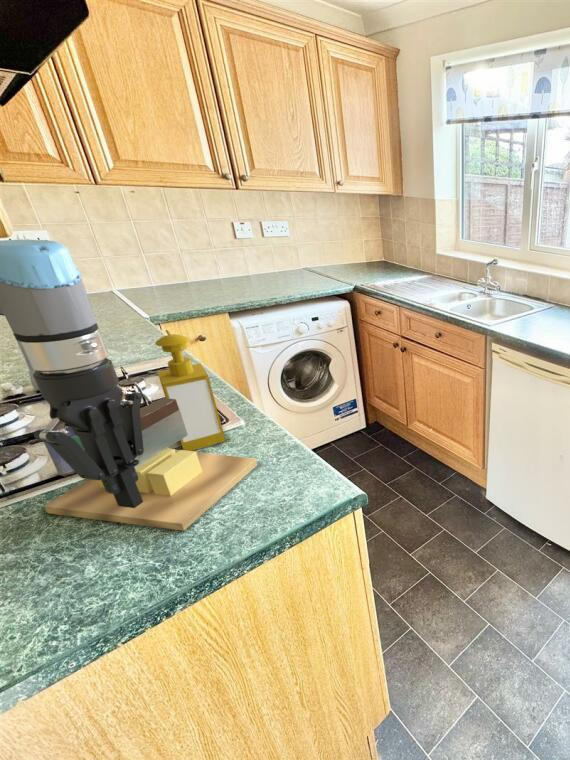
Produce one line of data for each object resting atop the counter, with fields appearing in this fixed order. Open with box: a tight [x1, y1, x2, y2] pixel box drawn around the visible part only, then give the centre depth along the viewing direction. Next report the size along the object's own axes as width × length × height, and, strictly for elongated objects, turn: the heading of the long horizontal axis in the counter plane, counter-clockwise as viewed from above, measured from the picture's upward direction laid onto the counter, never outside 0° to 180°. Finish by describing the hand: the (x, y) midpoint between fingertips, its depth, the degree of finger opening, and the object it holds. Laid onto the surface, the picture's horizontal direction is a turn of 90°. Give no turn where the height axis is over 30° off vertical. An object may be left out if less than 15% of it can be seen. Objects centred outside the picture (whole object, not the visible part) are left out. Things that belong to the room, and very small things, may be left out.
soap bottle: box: [155, 329, 227, 451], centre depth 87 cm, size 7×13×24 cm, turn 43°
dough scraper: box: [132, 397, 188, 469], centre depth 71 cm, size 2×12×8 cm, turn 174°
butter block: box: [97, 448, 176, 493], centre depth 75 cm, size 9×7×4 cm
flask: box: [43, 426, 85, 477], centre depth 79 cm, size 9×3×11 cm, turn 164°
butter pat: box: [147, 449, 202, 496], centre depth 74 cm, size 3×7×4 cm, turn 174°
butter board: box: [44, 449, 258, 532], centre depth 76 cm, size 24×18×2 cm
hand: (130, 503), depth 65 cm, fingers closed
